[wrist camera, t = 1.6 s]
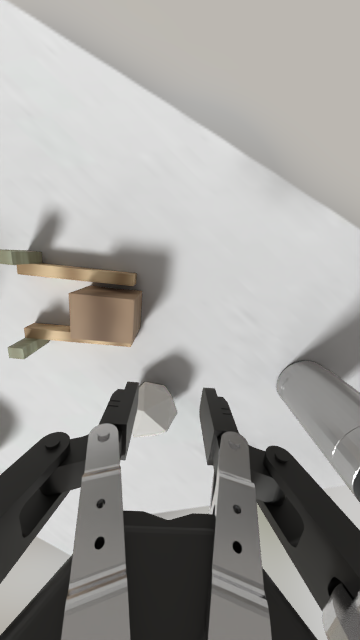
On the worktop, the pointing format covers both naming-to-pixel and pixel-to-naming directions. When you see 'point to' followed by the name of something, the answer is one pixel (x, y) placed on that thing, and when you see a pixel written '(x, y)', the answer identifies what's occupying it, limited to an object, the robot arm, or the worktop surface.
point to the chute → (33, 266)
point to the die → (153, 410)
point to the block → (105, 314)
